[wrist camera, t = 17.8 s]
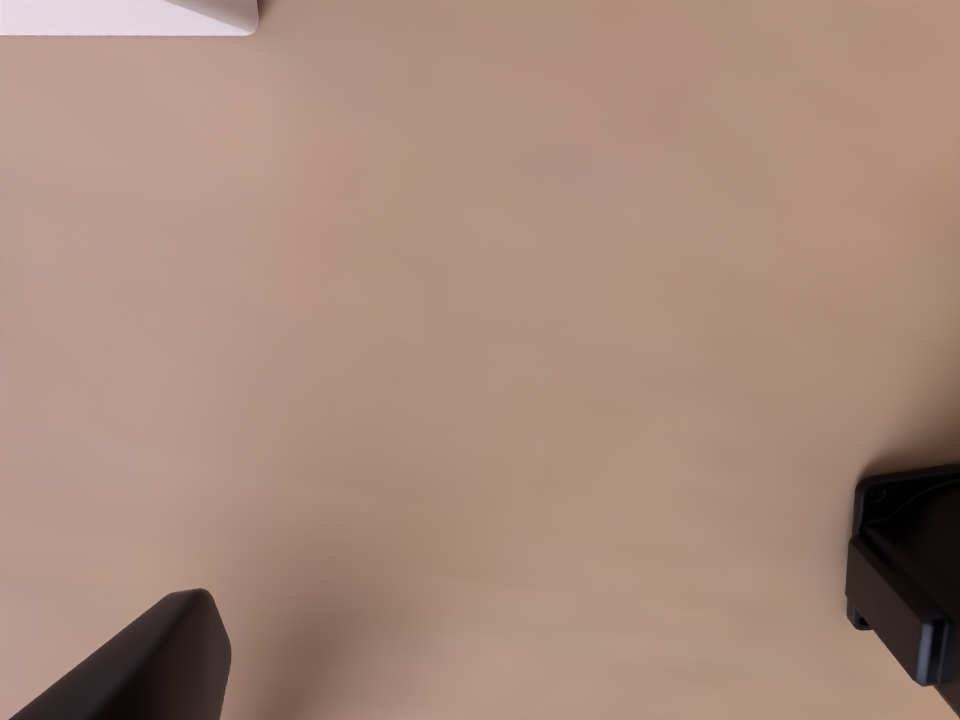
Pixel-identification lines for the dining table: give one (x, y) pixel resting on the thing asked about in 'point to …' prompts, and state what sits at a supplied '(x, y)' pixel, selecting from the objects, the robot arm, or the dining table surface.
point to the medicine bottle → (129, 17)
